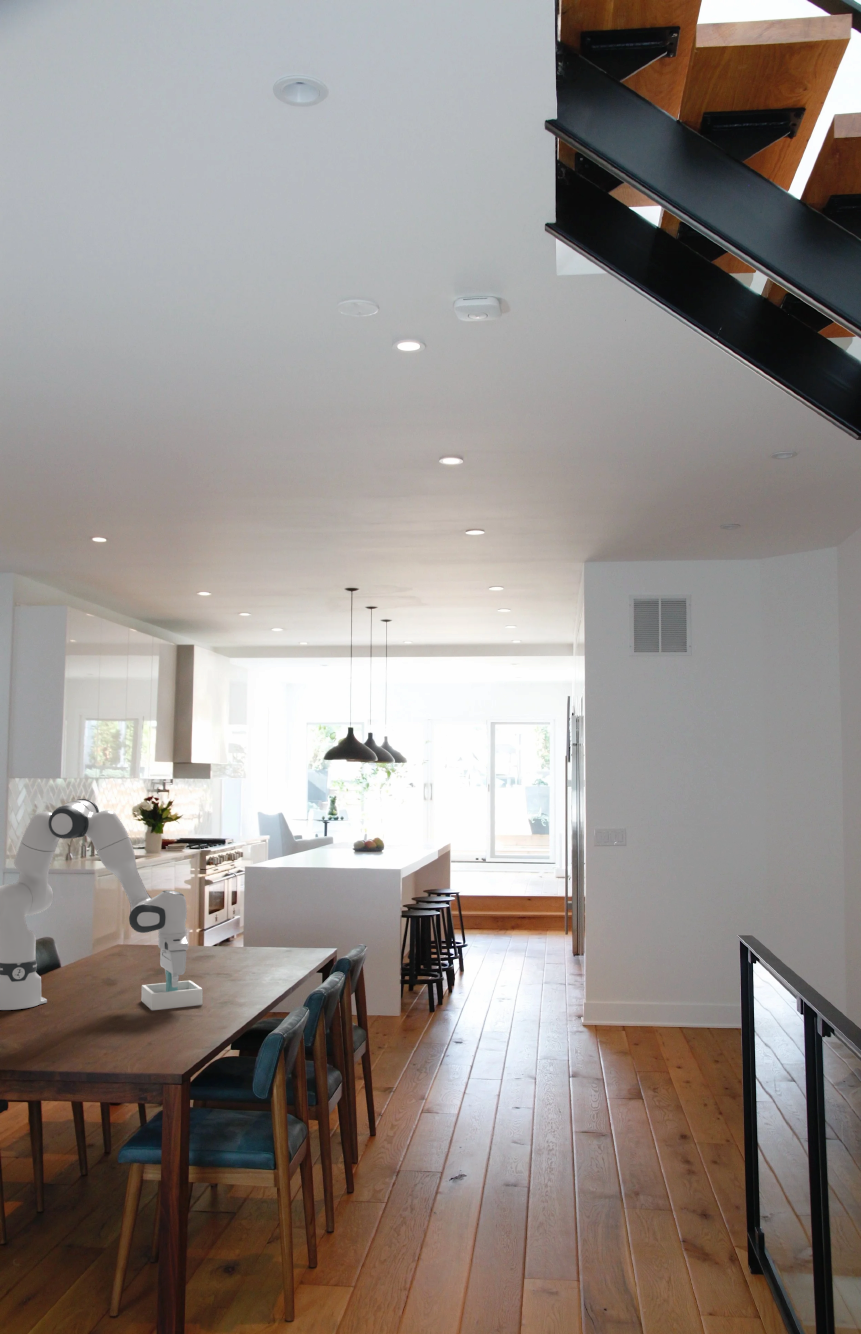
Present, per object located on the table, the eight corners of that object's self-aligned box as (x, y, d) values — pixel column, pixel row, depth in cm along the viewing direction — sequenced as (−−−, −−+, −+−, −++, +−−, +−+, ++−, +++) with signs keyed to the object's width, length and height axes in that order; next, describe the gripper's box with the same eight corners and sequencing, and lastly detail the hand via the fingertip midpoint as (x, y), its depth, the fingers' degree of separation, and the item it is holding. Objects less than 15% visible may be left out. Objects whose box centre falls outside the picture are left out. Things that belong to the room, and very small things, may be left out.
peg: (165, 1002, 335) (166, 971, 336) (175, 1001, 336) (175, 970, 337) (168, 1004, 332) (168, 972, 333) (177, 1003, 334) (177, 971, 335)
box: (141, 1001, 338) (141, 985, 338) (190, 995, 345) (190, 980, 346) (151, 1010, 324) (152, 994, 324) (202, 1004, 331) (202, 988, 331)
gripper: (155, 938, 344) (155, 980, 343) (169, 946, 326) (168, 991, 325) (174, 936, 347) (174, 978, 346) (189, 944, 329) (189, 989, 327)
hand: (171, 985), depth 335 cm, fingers open, 6 cm apart
